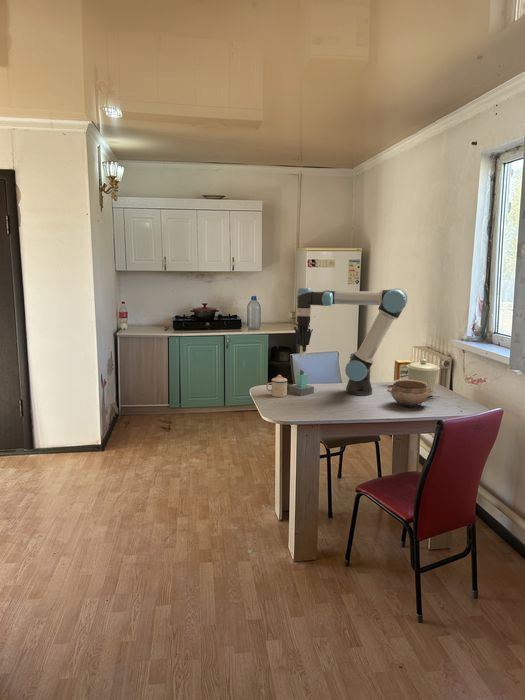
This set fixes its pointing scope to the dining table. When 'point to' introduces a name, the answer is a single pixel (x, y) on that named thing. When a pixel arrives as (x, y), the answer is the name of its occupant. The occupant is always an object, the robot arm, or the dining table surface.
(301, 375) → the aqua plug
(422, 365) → the canister
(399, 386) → the cooking pot
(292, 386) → the port panel
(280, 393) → the teacup with lid
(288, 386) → the frame
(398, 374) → the baking soda box
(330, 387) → the dining table surface
